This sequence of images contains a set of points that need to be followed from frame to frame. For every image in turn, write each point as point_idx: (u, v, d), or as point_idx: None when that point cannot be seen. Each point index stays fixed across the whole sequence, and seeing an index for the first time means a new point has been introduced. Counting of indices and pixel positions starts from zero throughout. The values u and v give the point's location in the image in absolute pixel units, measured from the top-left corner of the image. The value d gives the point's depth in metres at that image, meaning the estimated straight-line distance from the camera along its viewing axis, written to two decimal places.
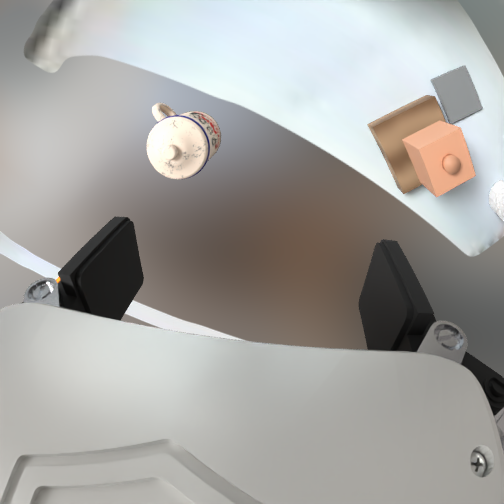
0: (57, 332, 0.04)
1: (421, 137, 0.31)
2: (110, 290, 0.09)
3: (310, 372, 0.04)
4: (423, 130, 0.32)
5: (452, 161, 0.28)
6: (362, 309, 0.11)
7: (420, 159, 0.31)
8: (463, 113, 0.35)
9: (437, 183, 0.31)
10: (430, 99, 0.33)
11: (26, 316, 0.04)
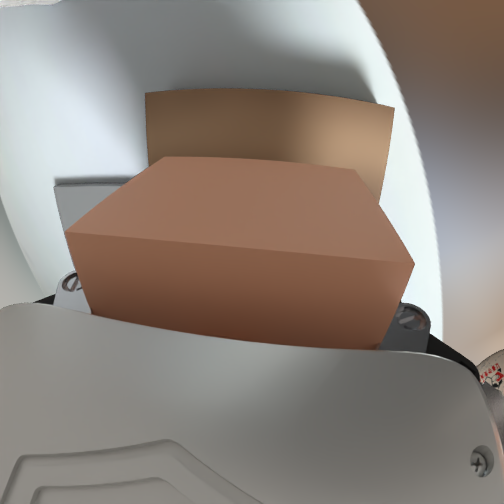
0: (57, 332, 0.04)
1: None
2: None
3: (311, 373, 0.04)
4: None
5: None
6: None
7: None
8: (100, 196, 0.18)
9: (353, 329, 0.06)
10: None
11: (26, 316, 0.04)
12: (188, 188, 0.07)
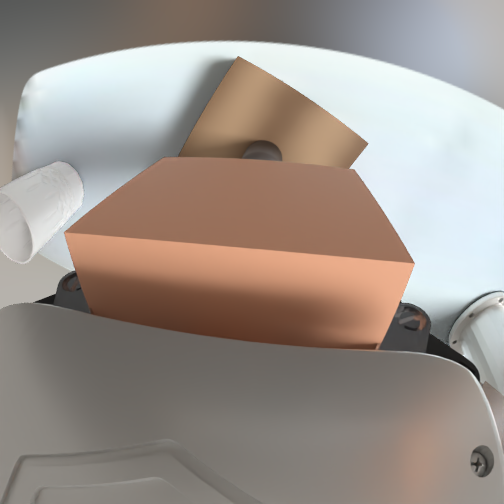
0: (57, 332, 0.04)
1: None
2: None
3: (310, 373, 0.04)
4: None
5: None
6: None
7: None
8: None
9: (353, 329, 0.06)
10: None
11: (26, 316, 0.04)
12: (187, 188, 0.07)
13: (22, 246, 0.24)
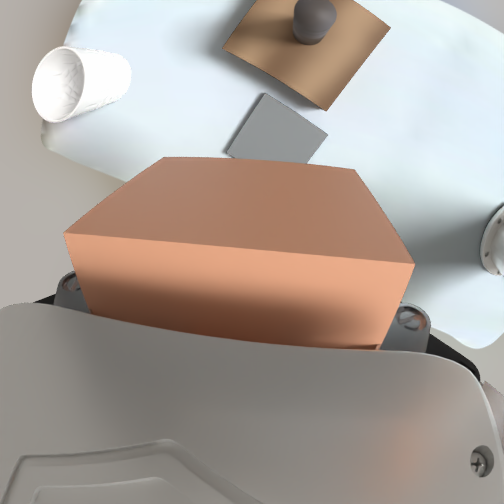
0: (57, 332, 0.04)
1: None
2: None
3: (310, 372, 0.04)
4: None
5: None
6: None
7: None
8: (254, 121, 0.29)
9: (353, 330, 0.06)
10: (330, 103, 0.25)
11: (26, 316, 0.04)
12: (187, 189, 0.07)
13: (62, 114, 0.23)
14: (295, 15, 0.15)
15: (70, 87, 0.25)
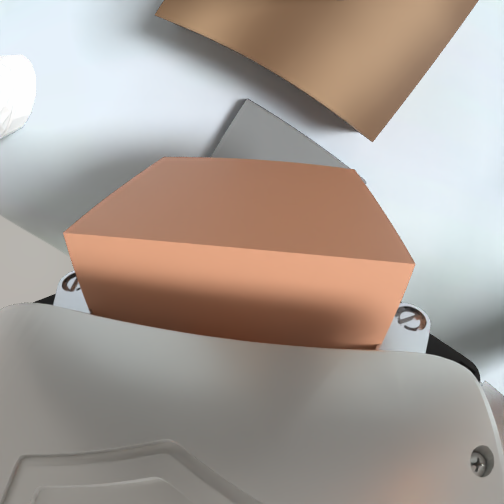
0: (57, 332, 0.04)
1: None
2: None
3: (310, 372, 0.04)
4: None
5: None
6: None
7: None
8: (227, 156, 0.16)
9: (353, 330, 0.06)
10: (382, 124, 0.12)
11: (26, 316, 0.04)
12: (187, 189, 0.07)
13: None
14: None
15: None
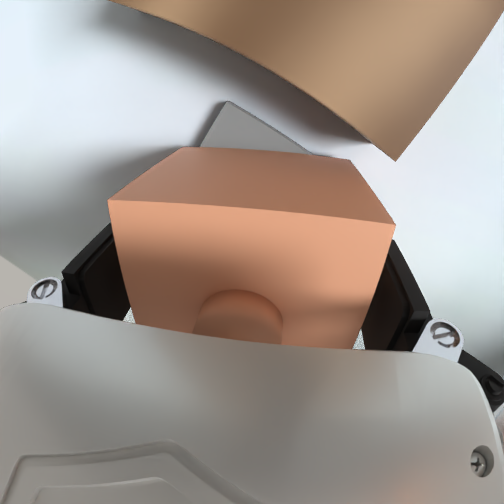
0: (57, 332, 0.04)
1: None
2: (113, 289, 0.09)
3: (311, 373, 0.04)
4: None
5: None
6: None
7: None
8: None
9: (348, 282, 0.07)
10: (409, 137, 0.08)
11: (26, 316, 0.04)
12: (209, 170, 0.09)
13: None
14: None
15: None
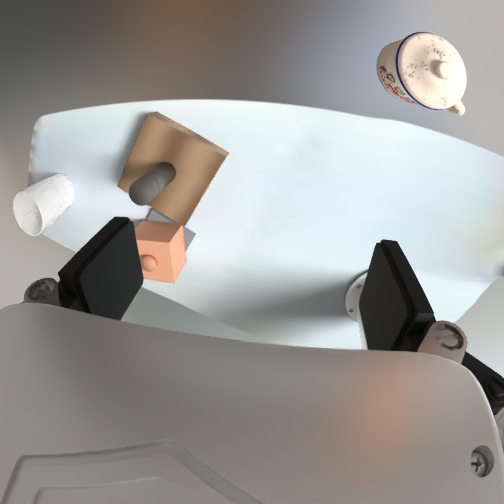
0: (57, 332, 0.04)
1: None
2: (110, 290, 0.09)
3: (310, 372, 0.04)
4: None
5: (147, 268, 0.41)
6: (362, 309, 0.11)
7: (175, 270, 0.43)
8: None
9: (165, 253, 0.41)
10: (186, 221, 0.42)
11: (26, 316, 0.04)
12: (145, 231, 0.42)
13: (35, 226, 0.40)
14: (130, 196, 0.32)
15: None
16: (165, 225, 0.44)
